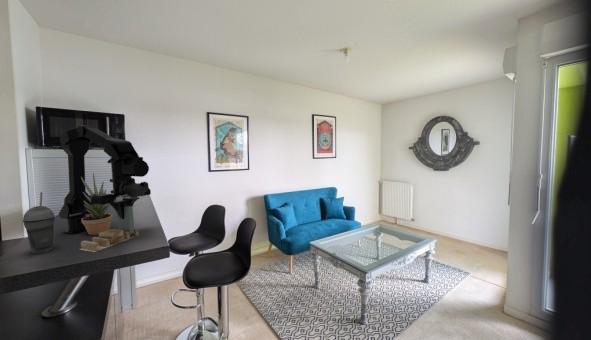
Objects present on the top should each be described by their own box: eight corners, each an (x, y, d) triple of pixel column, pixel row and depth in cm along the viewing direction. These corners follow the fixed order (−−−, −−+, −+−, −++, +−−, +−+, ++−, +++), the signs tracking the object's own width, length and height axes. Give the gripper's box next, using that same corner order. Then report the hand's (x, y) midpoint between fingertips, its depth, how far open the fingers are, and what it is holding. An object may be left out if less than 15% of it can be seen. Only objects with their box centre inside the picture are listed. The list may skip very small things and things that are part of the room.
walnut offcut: (111, 245, 84) (110, 239, 84) (98, 243, 86) (97, 238, 86) (125, 239, 89) (124, 234, 89) (112, 238, 91) (112, 233, 91)
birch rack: (95, 255, 79) (94, 244, 79) (79, 252, 81) (78, 242, 81) (140, 237, 94) (139, 228, 94) (126, 236, 96) (125, 226, 96)
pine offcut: (112, 239, 85) (111, 234, 85) (99, 238, 86) (98, 233, 86) (123, 234, 89) (123, 229, 89) (110, 233, 90) (110, 229, 90)
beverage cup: (35, 251, 83) (28, 191, 81) (63, 248, 85) (57, 189, 83) (20, 260, 76) (13, 195, 74) (51, 256, 79) (44, 193, 77)
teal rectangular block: (130, 234, 91) (128, 206, 90) (118, 232, 93) (116, 205, 92) (134, 232, 92) (132, 206, 91) (122, 231, 94) (120, 204, 93)
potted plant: (76, 238, 94) (70, 173, 92) (99, 230, 104) (95, 170, 101) (98, 240, 92) (93, 173, 90) (120, 231, 102) (116, 170, 100)
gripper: (112, 179, 79) (116, 228, 81) (160, 173, 97) (162, 213, 98) (87, 178, 83) (91, 225, 84) (138, 173, 100) (141, 211, 102)
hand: (125, 218), depth 92 cm, fingers closed on teal rectangular block, 1 cm apart
